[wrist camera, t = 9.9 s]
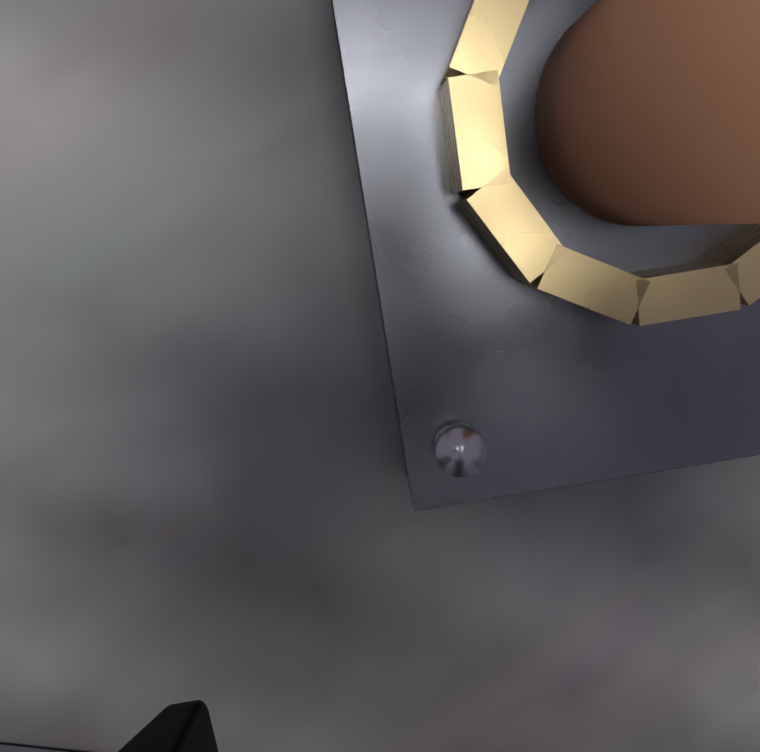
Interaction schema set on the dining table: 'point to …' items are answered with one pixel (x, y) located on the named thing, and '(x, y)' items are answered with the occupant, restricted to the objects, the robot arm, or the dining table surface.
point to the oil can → (656, 112)
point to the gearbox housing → (530, 273)
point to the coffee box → (23, 749)
